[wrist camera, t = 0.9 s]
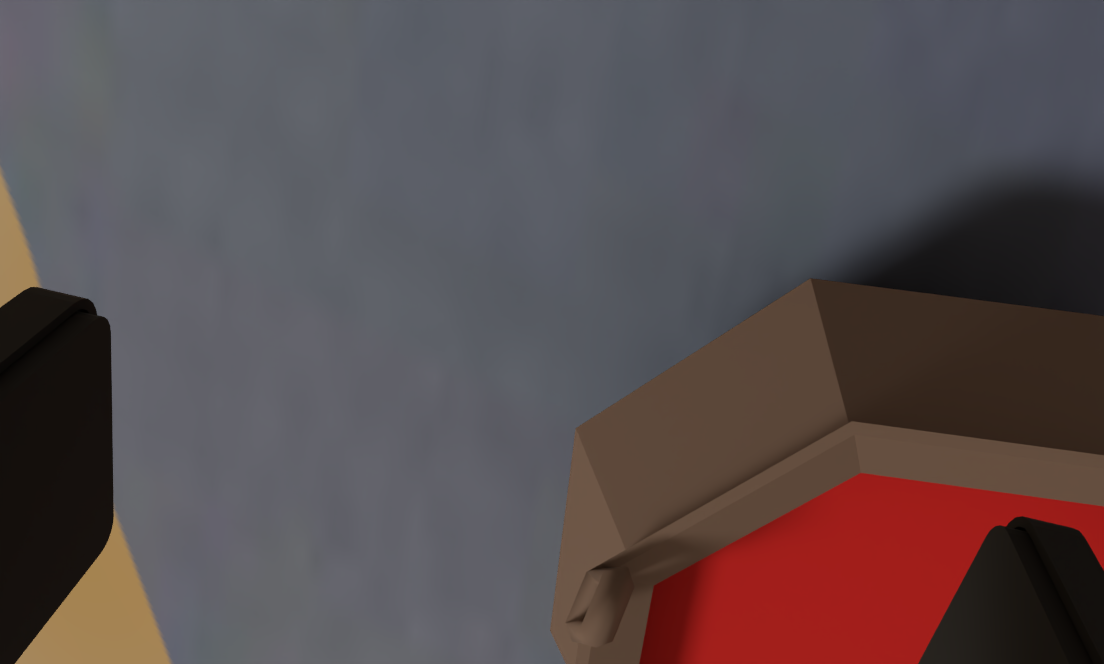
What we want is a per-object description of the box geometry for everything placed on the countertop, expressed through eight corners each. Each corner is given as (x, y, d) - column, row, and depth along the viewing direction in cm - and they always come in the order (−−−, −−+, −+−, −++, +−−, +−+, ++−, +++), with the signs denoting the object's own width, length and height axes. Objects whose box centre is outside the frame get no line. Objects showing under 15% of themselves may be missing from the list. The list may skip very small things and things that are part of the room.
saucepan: (463, 534, 45) (365, 870, 30) (758, 68, 34) (823, 244, 20) (901, 747, 48) (1002, 1143, 34) (1297, 381, 37) (1696, 731, 23)
